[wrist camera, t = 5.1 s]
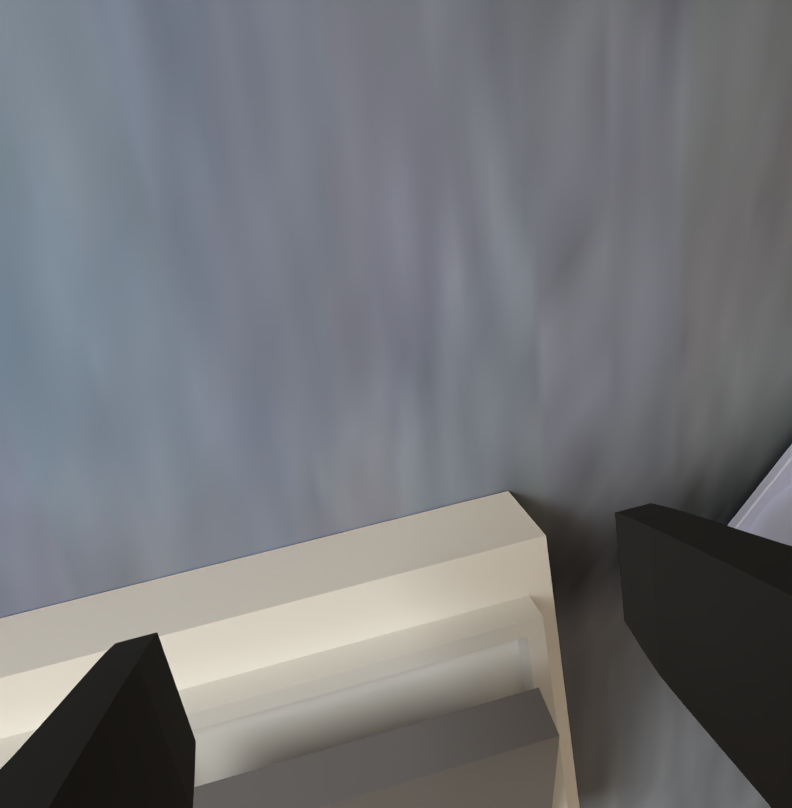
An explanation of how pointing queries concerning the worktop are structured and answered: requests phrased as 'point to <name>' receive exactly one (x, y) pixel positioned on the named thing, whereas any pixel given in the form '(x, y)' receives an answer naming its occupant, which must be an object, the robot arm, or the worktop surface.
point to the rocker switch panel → (320, 639)
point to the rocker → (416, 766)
